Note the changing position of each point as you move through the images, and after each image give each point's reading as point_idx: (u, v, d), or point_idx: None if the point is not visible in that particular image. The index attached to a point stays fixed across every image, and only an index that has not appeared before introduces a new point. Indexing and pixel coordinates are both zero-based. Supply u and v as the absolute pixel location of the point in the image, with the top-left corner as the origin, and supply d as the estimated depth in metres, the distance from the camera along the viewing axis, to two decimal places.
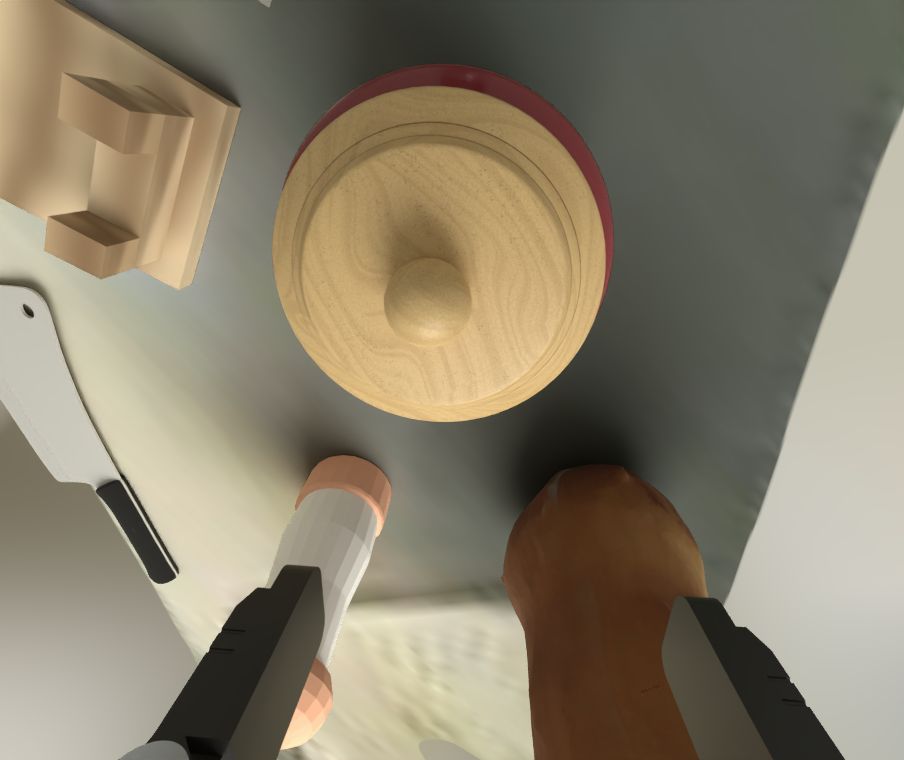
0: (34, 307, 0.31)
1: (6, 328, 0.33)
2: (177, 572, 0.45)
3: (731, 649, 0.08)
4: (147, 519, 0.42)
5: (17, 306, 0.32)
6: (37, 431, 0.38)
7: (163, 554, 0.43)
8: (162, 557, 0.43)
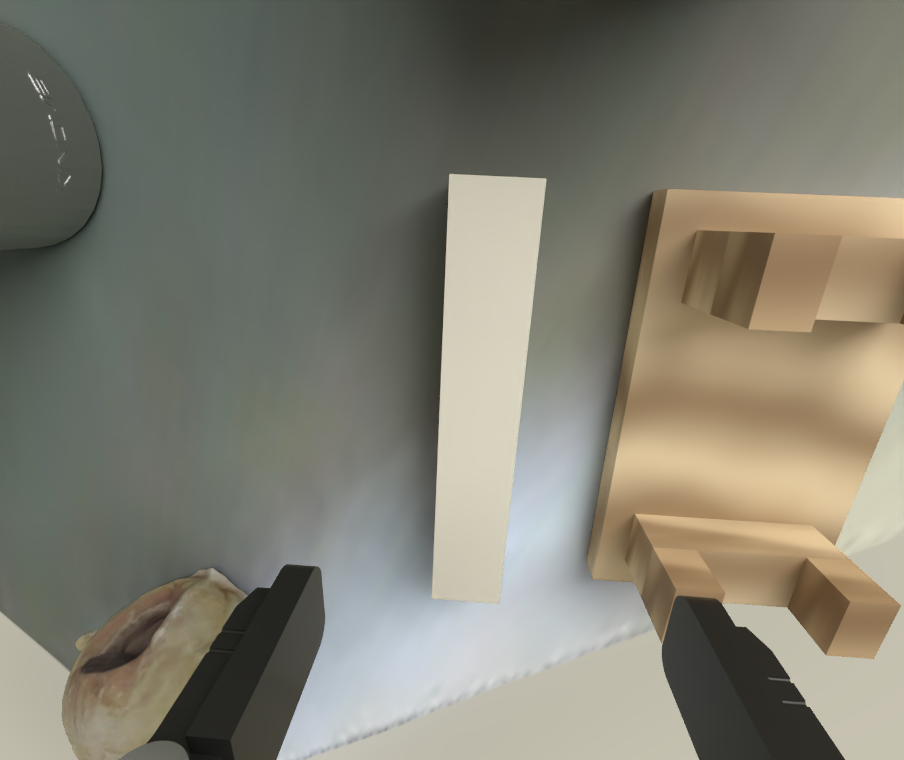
0: None
1: None
2: None
3: (731, 649, 0.08)
4: None
5: None
6: None
7: None
8: None
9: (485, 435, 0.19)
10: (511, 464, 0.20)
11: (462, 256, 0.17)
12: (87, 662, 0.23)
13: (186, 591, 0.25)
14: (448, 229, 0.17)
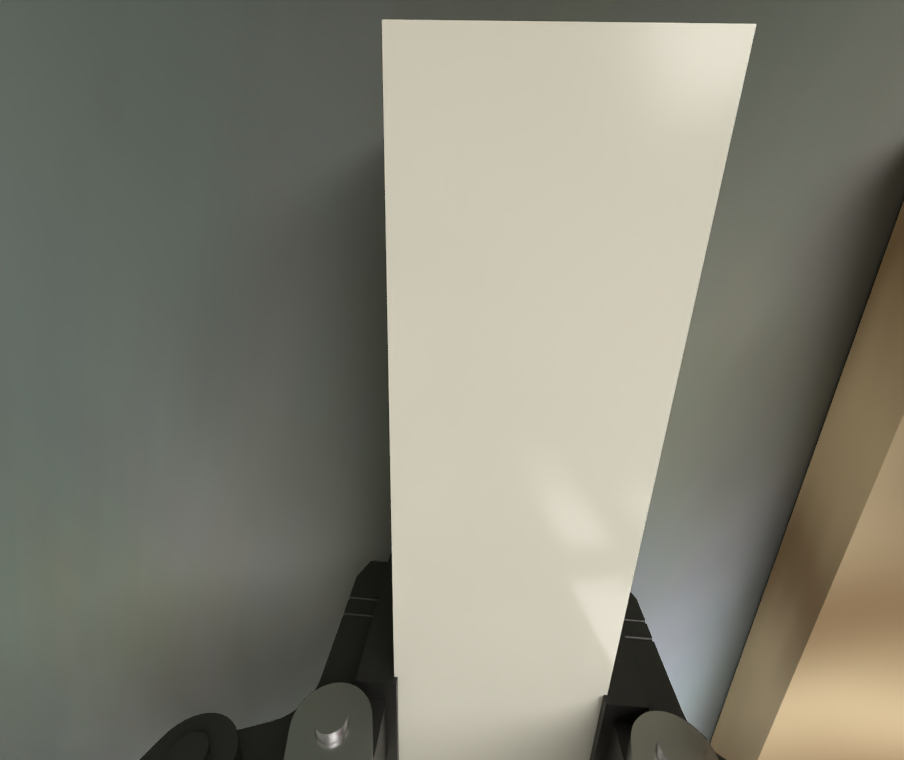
0: None
1: None
2: None
3: None
4: None
5: None
6: None
7: None
8: None
9: (511, 743, 0.08)
10: None
11: (440, 315, 0.05)
12: None
13: None
14: (391, 228, 0.05)
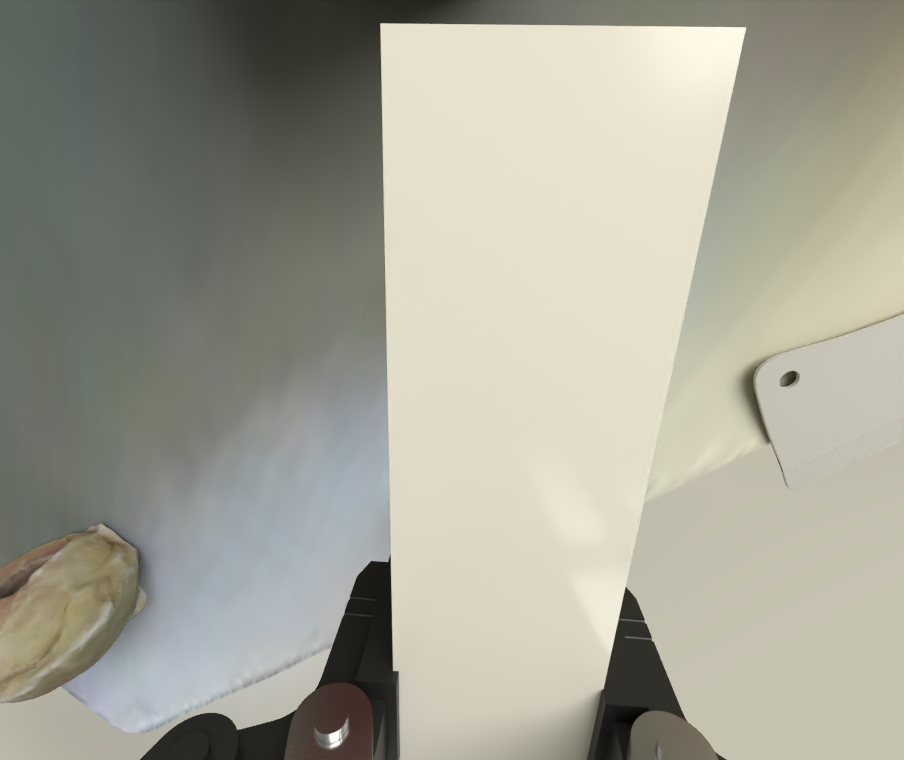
0: (780, 371, 0.24)
1: (825, 404, 0.25)
2: None
3: None
4: None
5: (786, 391, 0.25)
6: None
7: None
8: None
9: (509, 737, 0.08)
10: None
11: (438, 312, 0.05)
12: None
13: (71, 541, 0.29)
14: (389, 227, 0.05)
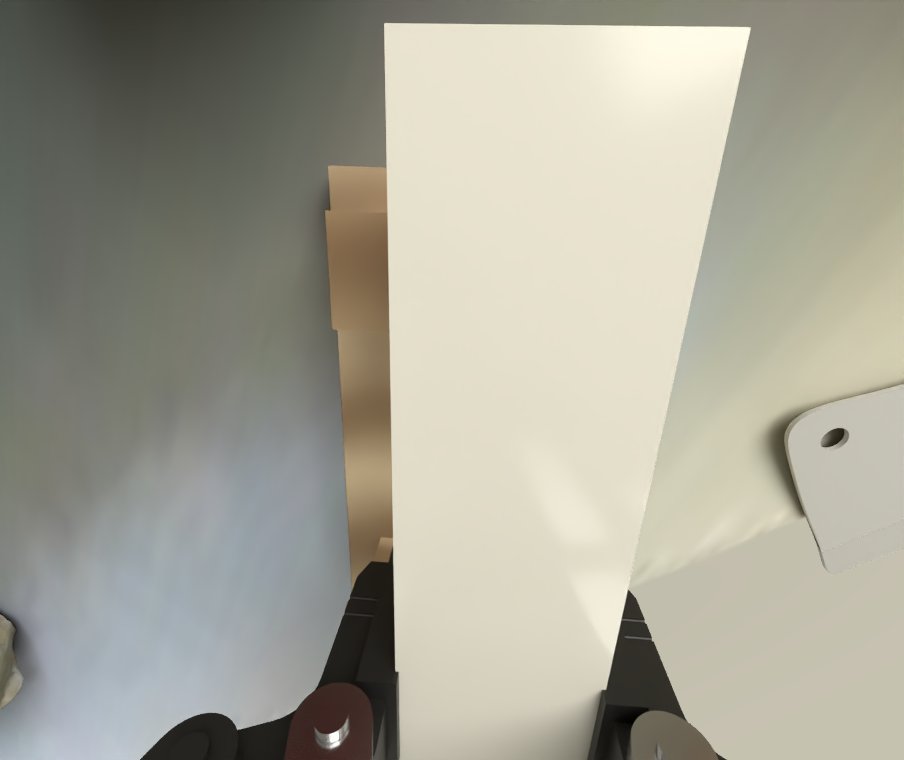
0: (823, 428, 0.18)
1: (882, 471, 0.19)
2: None
3: None
4: None
5: (829, 453, 0.18)
6: None
7: None
8: None
9: (511, 738, 0.08)
10: None
11: (442, 313, 0.05)
12: None
13: None
14: (393, 227, 0.05)
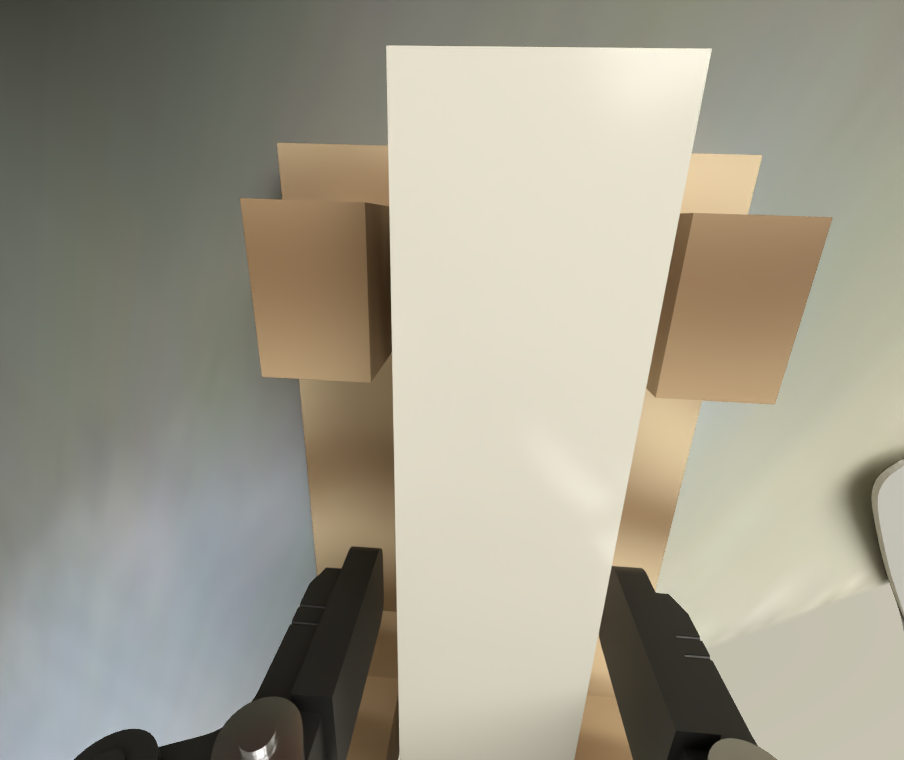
0: None
1: None
2: None
3: (646, 610, 0.09)
4: None
5: None
6: None
7: None
8: None
9: (506, 705, 0.08)
10: (566, 759, 0.09)
11: (439, 304, 0.06)
12: None
13: None
14: (394, 227, 0.06)
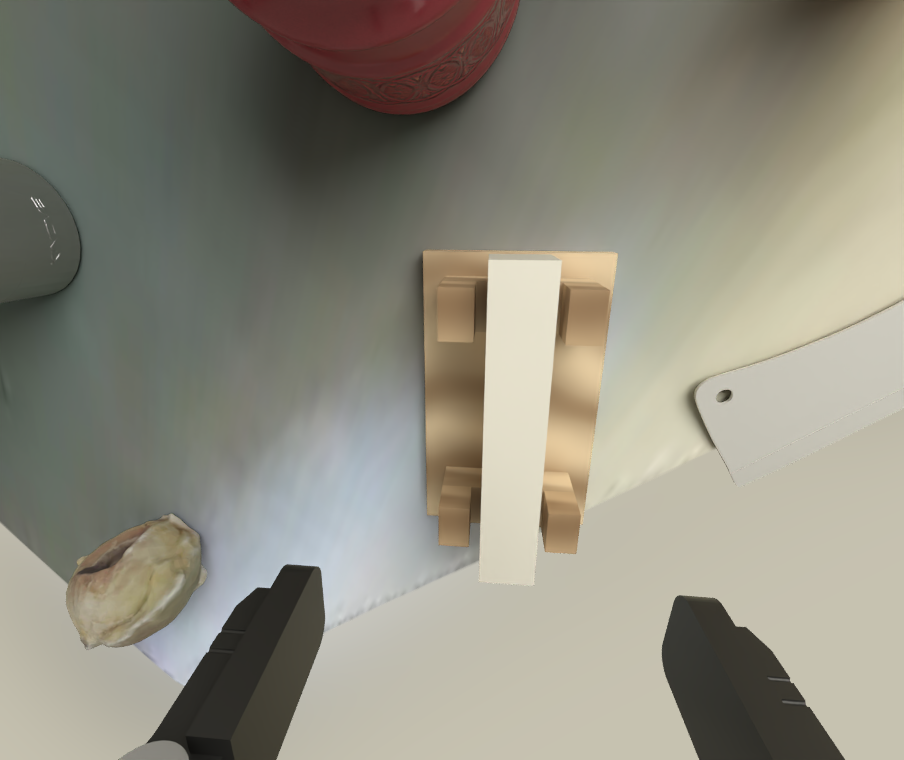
0: (715, 389, 0.30)
1: (758, 416, 0.31)
2: None
3: (731, 649, 0.08)
4: None
5: (722, 405, 0.30)
6: None
7: None
8: None
9: (519, 451, 0.25)
10: (540, 473, 0.25)
11: (499, 318, 0.22)
12: (82, 569, 0.34)
13: (150, 526, 0.36)
14: (488, 299, 0.22)
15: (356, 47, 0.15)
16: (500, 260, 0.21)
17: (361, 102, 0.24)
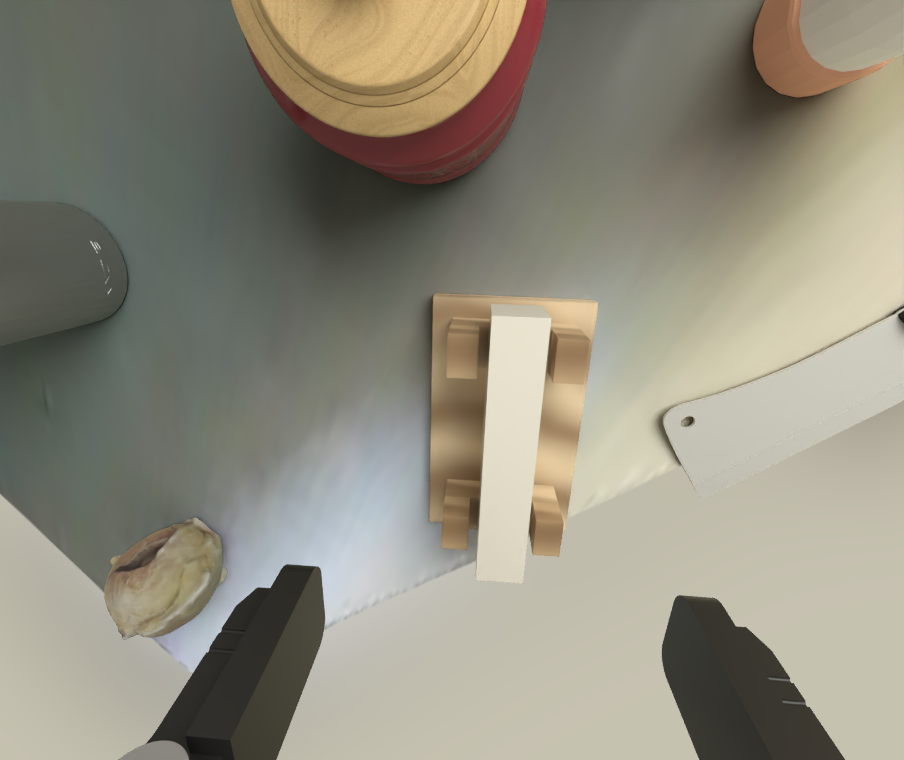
0: (680, 416, 0.35)
1: (716, 438, 0.36)
2: None
3: (731, 649, 0.08)
4: None
5: (686, 429, 0.35)
6: (848, 408, 0.35)
7: None
8: None
9: (513, 470, 0.29)
10: (530, 489, 0.30)
11: (499, 362, 0.27)
12: (118, 568, 0.38)
13: (178, 529, 0.40)
14: (490, 346, 0.27)
15: (397, 165, 0.20)
16: (501, 316, 0.26)
17: (386, 175, 0.29)
